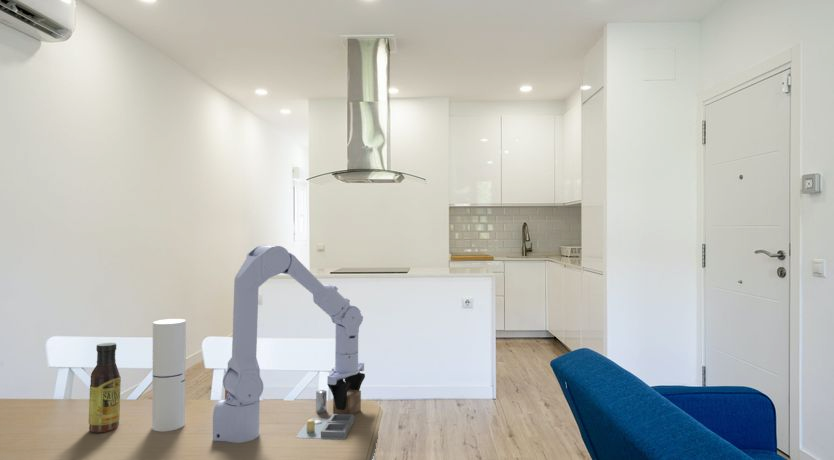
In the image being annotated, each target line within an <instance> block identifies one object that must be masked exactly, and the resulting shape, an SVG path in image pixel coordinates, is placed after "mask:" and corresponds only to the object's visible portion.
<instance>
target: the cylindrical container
mask: <svg viewBox="0 0 834 460" xmlns="http://www.w3.org/2000/svg"><path fill="white" fill-rule="evenodd" d="M186 320H187V319H184V318H183V319H182V318H168V319H167V318H166V319H159V320H155V321H153V322H152V384H151V385H152V386H151V387H152V391H151V392H152V396H151V397H152V398H151V399H152V408H151V410H152V414H151V415H152V416H151V417H152V419H151V429H152V430H153V431H155V432H171V431H174V430H179V429H182V428H183V427H184V426H185V425H186V375H187V373H186V371H187V370H186V368H187V367H186V361H187V360H186V358H187V357H186V348H187V347H186V345H187V344H186V339H187V337H186V336H187V335H186V332H187V331H186V330H187V329H186V328H187V327H186V326H187V325H186V324H187V322H186Z"/></svg>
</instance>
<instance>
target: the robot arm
mask: <svg viewBox="0 0 834 460" xmlns="http://www.w3.org/2000/svg"><path fill="white" fill-rule="evenodd" d="M280 274H283V275H289V276H290V278H293V280H295V281H296V282H298V284H300V285H301V286H302V287H303V288H305V289H306V290H308V292H309V293H311V295H312V300H313V303H314V304H316V305H317V306H318V307H319V308H320V309H321V310H322V311H323V312H324V313H325V314H327V315H328V316H329V317H330V319H331V323H333V324H335V350H334V351H335V354H334V355H335V359H334V361H335V365H334V367H332V368H331V371H332V372H331V373H330V374H329V375H328V376H327V381H326V382H327V384H326V385H327V386H328V388H329V389H330V391H331V394H332V397H334V401H335V405H336V409H339V410H344V409H345V406H346V397H347V392H348V389H353V390H359V391H361V386H362V384H363V381H364V379H365V378H366V374H365V373H362V372H364V371H365V363H364V362H359V332H360V327H361V326H362V322H363V320H364V316H363V315H362V313H361V309H359V308H358V307H357V306H354V305H351V303H350V299H348V298H347V297H346V298H345V297H344V296H343V295H342V294H341V293H340V292H339V291H338V289H339V288H338V286H336V285H331V284H322V283H321V281H320V280H318V278H317V277H316V276H314V274H313V273H312V272H311V271H310V270H309V269H308V268H307V267H306V266H305V265H304V264H303V263H302V262H301V261H300V260H299V259H298V257H296V256H295V255H294V254H293V253H291V252H289V251H288V249H286V248H285V247H284V246H281V245H267V244H260V245H258V246H256V247H254V248H253V249H251V250H250V251H249V252H248V253H246V258H245V260H244V261H243V264H242V265H241V266H240V268H239V270H238V271H237V273H236V274H235V277H234V282H233V283H234V285H233V286H234V288H233V311H232V313H233V314H232V316H233V318H232V345H231V346H232V347H231V349H232V350H231V358H229V360H228V362H227V369H226V372H225V374H224V376H223V379H222V386H223V388H224V391H225V390H226V391H227V392H228V394H227V397H226V400H225V399H219V400H218V401H216V404H215V406H214V408H213V413H212V441H213V442H214V441H216V442H217V441H218V442H229V443H237V444H238V443H246V442H250V441H253V440H255V439H257V438H259V436H260V407H261V406H260V403H261V402H260V397H261V396H262V394H263V391H264V382H263V379H262V377H261V375H260V373H261V371H260V370H261V368H260V365H259V362H258V359H257V351H258V350H257V344H258V314H259V313H258V312H259V311H258V310H259V308H258V307H259V288H260V287H261V286H262V285H263V284H264V283H266V282H267V281H268V280H269V279H271V278H273V277H275V276H278V275H280Z"/></svg>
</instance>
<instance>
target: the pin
mask: <svg viewBox="0 0 834 460" xmlns="http://www.w3.org/2000/svg"><path fill="white" fill-rule="evenodd" d="M315 392H316V393H315V412H316V413H317V414H325V413H326V412H327V407H328V405H327V398H328V397H327V395H328V394H327V393H328V392H327V390H325V389H319V390H317V391H315Z"/></svg>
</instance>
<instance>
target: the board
mask: <svg viewBox="0 0 834 460" xmlns="http://www.w3.org/2000/svg"><path fill="white" fill-rule="evenodd" d="M354 421H355V414H354V415H353V414H333V413H332V414H331V416H330V417H328V418H321V417H319V418H318V417H317V418H316V417H309V419H307V420H306V423H305V424H304V425H303V427H302V428H301V429H300V431H299V432H298V433H297V435H296V436H295V439H319V440H323V439H324V440H345V439H346V437H347V435H348V434H349V431H350V429H351V427H352V426H353V424H354Z"/></svg>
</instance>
